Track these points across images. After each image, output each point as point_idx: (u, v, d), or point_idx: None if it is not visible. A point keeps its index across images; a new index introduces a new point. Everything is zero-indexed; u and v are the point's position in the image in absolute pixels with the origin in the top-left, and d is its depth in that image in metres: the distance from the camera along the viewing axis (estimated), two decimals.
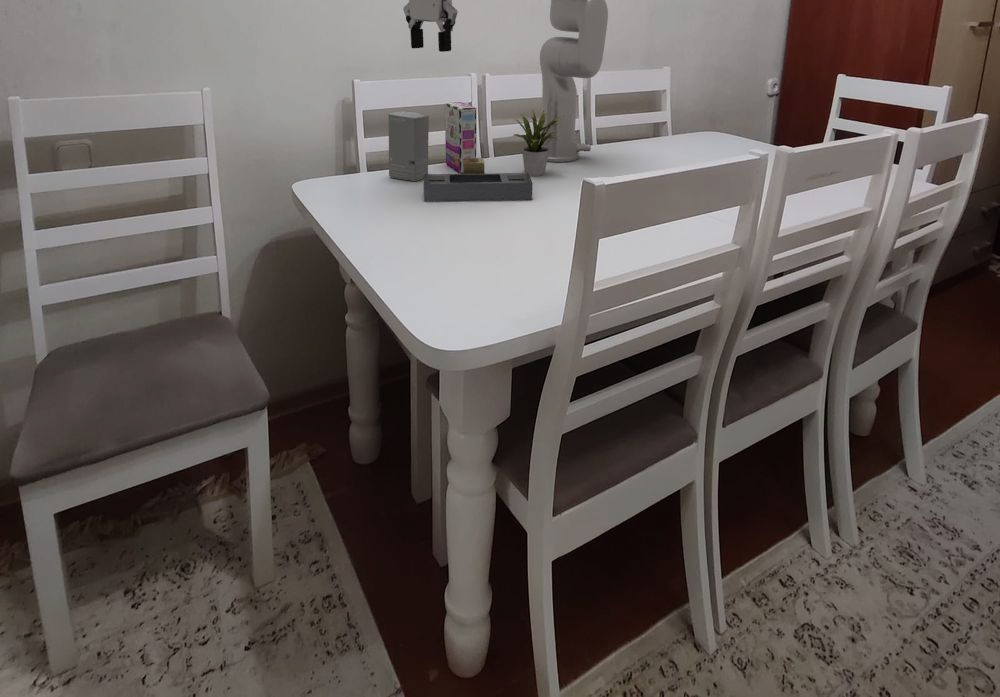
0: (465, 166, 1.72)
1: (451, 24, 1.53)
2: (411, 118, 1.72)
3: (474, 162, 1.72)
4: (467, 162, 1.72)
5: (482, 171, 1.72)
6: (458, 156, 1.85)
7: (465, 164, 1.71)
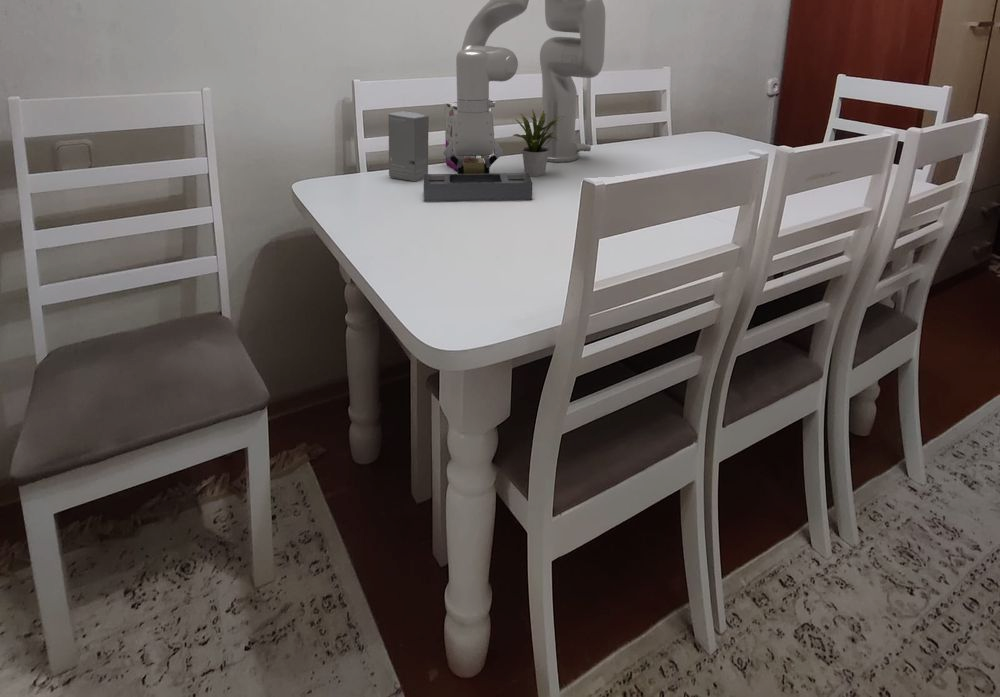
0: (465, 166, 1.72)
1: None
2: (411, 118, 1.72)
3: (474, 162, 1.72)
4: (467, 162, 1.72)
5: (482, 171, 1.72)
6: None
7: (465, 164, 1.71)
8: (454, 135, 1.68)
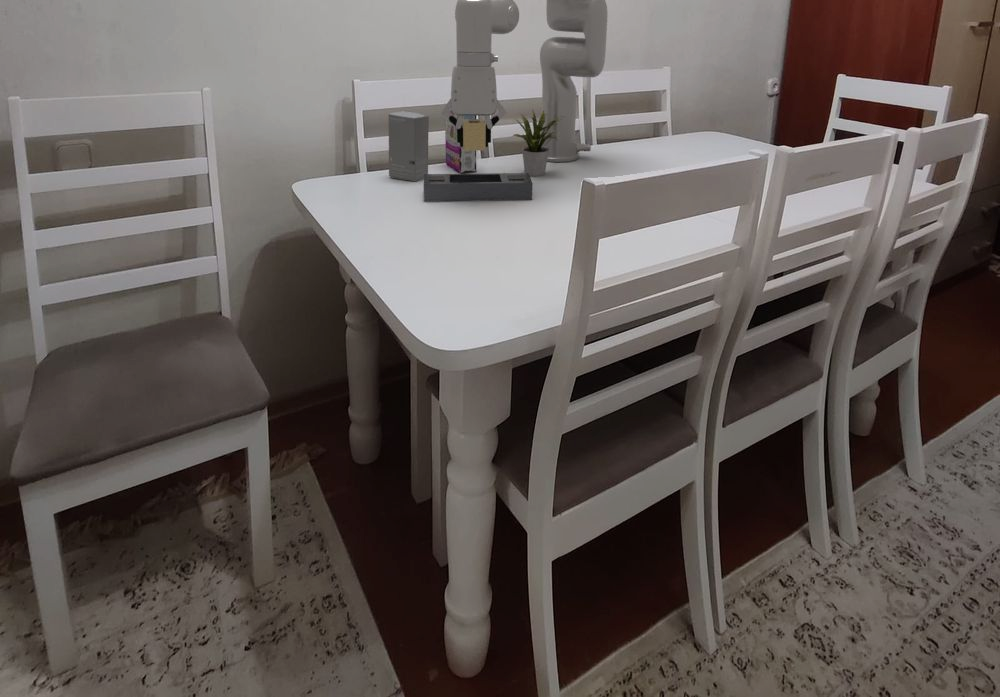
0: (465, 126, 1.58)
1: None
2: (411, 118, 1.72)
3: (475, 122, 1.58)
4: (467, 122, 1.58)
5: (483, 132, 1.58)
6: (458, 156, 1.85)
7: (465, 124, 1.57)
8: (453, 92, 1.55)
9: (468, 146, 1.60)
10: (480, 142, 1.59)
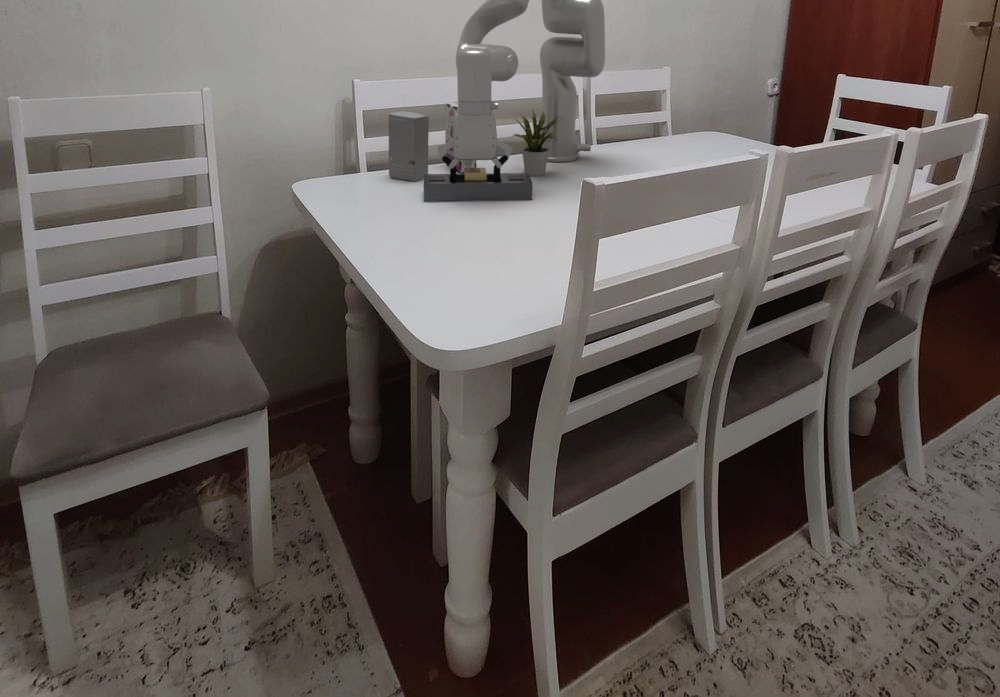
0: (466, 176, 1.63)
1: None
2: (411, 118, 1.72)
3: (476, 172, 1.63)
4: (468, 172, 1.64)
5: (484, 181, 1.64)
6: None
7: (466, 174, 1.63)
8: (455, 138, 1.60)
9: None
10: None
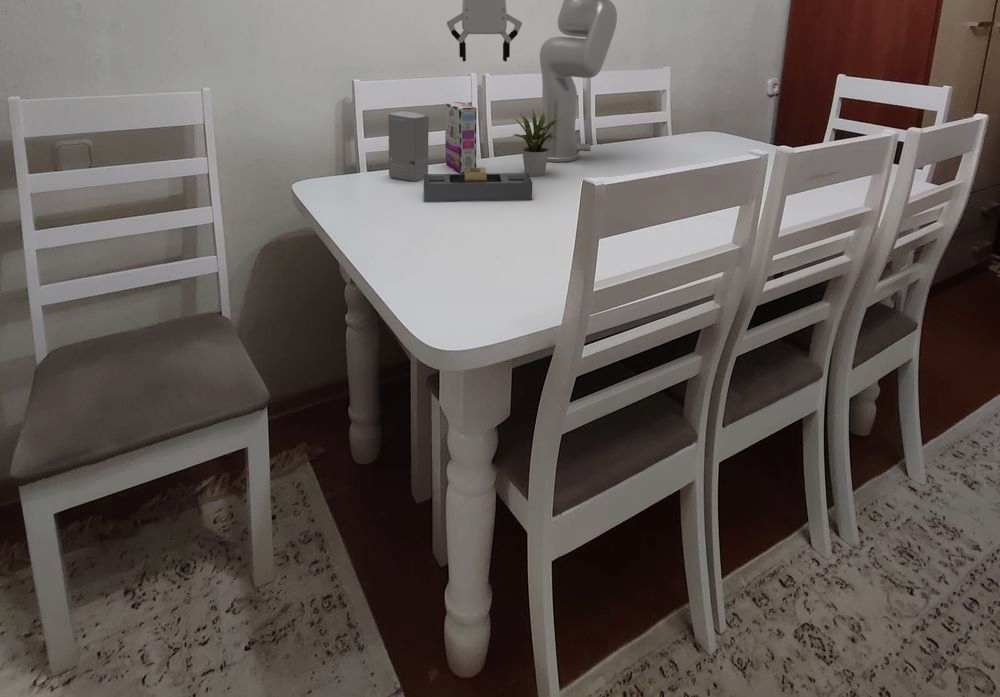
0: (466, 176, 1.63)
1: (515, 35, 1.65)
2: (411, 118, 1.72)
3: (476, 172, 1.63)
4: (468, 172, 1.64)
5: (484, 181, 1.64)
6: (458, 156, 1.85)
7: (466, 174, 1.63)
8: (464, 10, 1.60)
9: None
10: None
